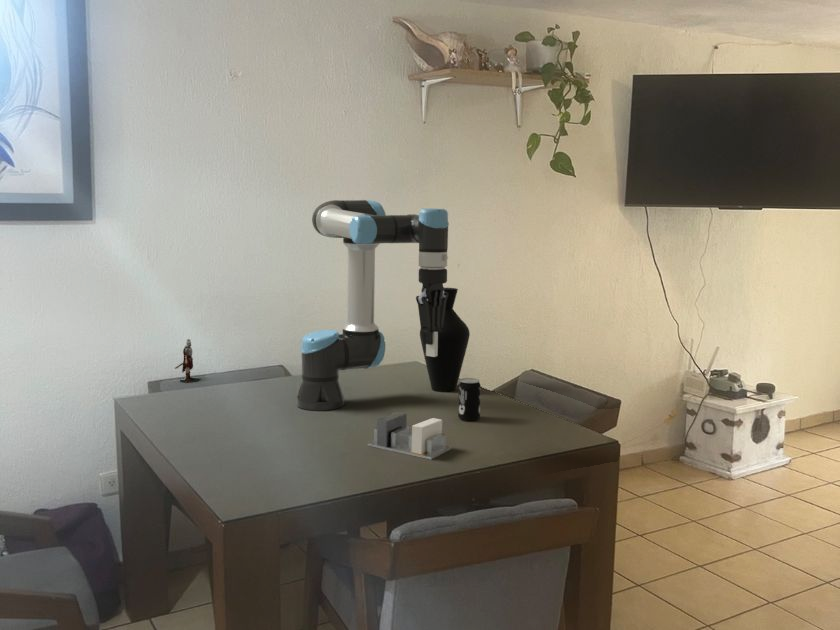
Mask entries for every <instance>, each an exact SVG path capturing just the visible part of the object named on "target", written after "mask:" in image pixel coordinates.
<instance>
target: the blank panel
mask: <svg viewBox="0 0 840 630" xmlns="http://www.w3.org/2000/svg"><path fill="white" fill-rule="evenodd" d="M440 433H442V434H443V419H440V418H435V417H432V418H429V419H426V420H424V421H421V422H418V423H416V424H413V425H412V427H411V435H412V450H411V452H414V453H419V454H422V453H425V452H427V440H428V439H430V438H432V437H434V436H436V435H438V434H440Z"/></svg>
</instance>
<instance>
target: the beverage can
mask: <svg viewBox="0 0 840 630" xmlns="http://www.w3.org/2000/svg"><path fill="white" fill-rule="evenodd" d="M481 387H482V386H481V383H480V379H478V378H473V377H464V378H461V379H460V381H459V383H458V404H457V405H458V406H457V407H458V410H457V415H458V418H459V419H460V421H464V422H476V421H478V420H479V419H480V417H481V393H482V391H481Z"/></svg>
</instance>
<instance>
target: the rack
mask: <svg viewBox="0 0 840 630" xmlns="http://www.w3.org/2000/svg"><path fill="white" fill-rule="evenodd" d="M407 415H408V414H407V413H406V412H401V411H396V412H394V413H391V414H388V415H385V416H383V417H381V418H379V419H377V420H376V428H374V429H373V441H370V442H367V446H368V447H373V448H378V449H382V450H386V451H389V452H390V451H391V452H396V453H400V454H403V455H409V456H414V457H419V458H421V459H427V460H433V459H435V458H437V457H439V456H441V455H443V454H445V453H446V452H449V451H451V450H452V449H451V448H452V447H451V446H448V445H446V434H445V433H443V432H442V433H440V434H438V435H436V436H434V437H432V438H430V439H428V440H427V452H425V453H422V454H419V453H414V452H411V450H412V434H411V426H407Z"/></svg>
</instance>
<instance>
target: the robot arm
mask: <svg viewBox="0 0 840 630" xmlns="http://www.w3.org/2000/svg"><path fill="white" fill-rule="evenodd" d="M311 222H312V225H313V228H314V230H315V231H316V233H318V234H319V235H321V236H324V237H327V238H333V239H342V240H343V241H342V243H343V245H344V246H345V247H347V320H346V321H347V322H346V323H345V324H344V325H343V326H342V334H341V333H340V334H339V331H338V330H335V329H334V330H333V329H328V330H327V329H323V330H316V331H313V332H310V333H307V334H306V335H304V336H303V337H302V339H301V348H300V352H301V382H300V387H299V389H298V393H297V395H296V406H297V407H298V408H299V409H302V408H303V410H308V411H329V410H330V411H331V410H335V409H339V408H341V407H343V406H344V405H345V395H344V393H343V391H342V387H341V383H340V379H339V378H340V377H339V376H340V375H339V373H340V372H341V371H348V370H349V371H350V370H362V369H364V370H366V369H369V368H376V367H378V366H379V365H380V364H381V363H382V362H383V360H384V357H385V353H386V341H385V336H384V334H383V333H382V332H381V331H380V330H379V326H378V325H377V323H375V286H376V285H375V282H376V281H375V277H376V275H375V274H376V273H375V271H376V270H375V269H376V265H375V264H376V262H375V261H376V249H377V247H378V246H380V244H418V247H419V248H418V267H420V268H419V269H418V282H419V283H420V284H422V287H421V294H420V295H416V296H415V300H416V303H417V306H418V316H419V323H420V329H421V330H422V331H423V332H426V356H431V357H436V356H437V353H438V331H439V332H441V331H442V329H440V328H443V323H444V315H445V308H446V301H447V298H448V295H449V294H448V292H444V288H445V287H444V284H446V283H447V282H448V270H447V268H446V267H447V266H448V259H449V256H448V246H449V244H448V243H449V242H448V241H449V225H450V224H449V213H448V211H447V210H446V209H444V208H421V209H420V211H419V214H414V213H413V214H400V215H399V214H397V215H396V214H395V215H394V214H391V215H389V214H387V215H386V211H385V209H384V207H383V205H382V204H381V203H380V202H378V201H376V200H367V199H360V200H359V199H358V200H357V199H356V200H354V199H351V200H343V199H342V200H341V199H340V200H337V199H336V200H335V199H334V200H329V201H325V202H323V203H321V204H319V205H318V206H317V207H316V208H315V210H314V211H313V213H312V218H311Z"/></svg>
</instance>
